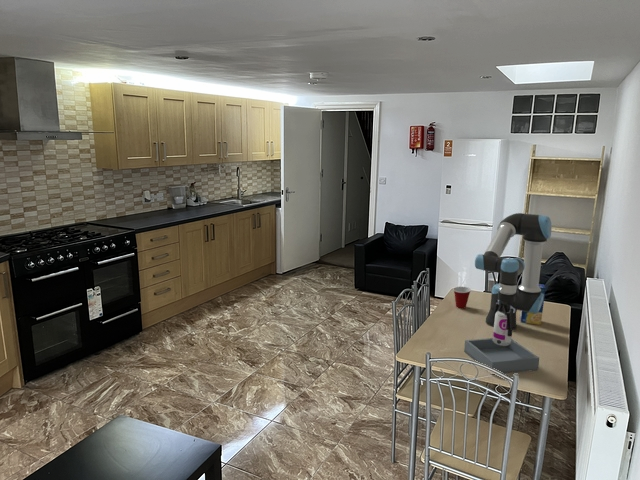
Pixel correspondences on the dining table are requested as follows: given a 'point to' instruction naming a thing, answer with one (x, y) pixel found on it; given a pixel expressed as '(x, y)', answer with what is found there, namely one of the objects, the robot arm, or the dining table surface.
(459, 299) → the plastic cup
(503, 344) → the supplement can
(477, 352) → the tray
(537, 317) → the beverage box
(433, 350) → the dining table surface
